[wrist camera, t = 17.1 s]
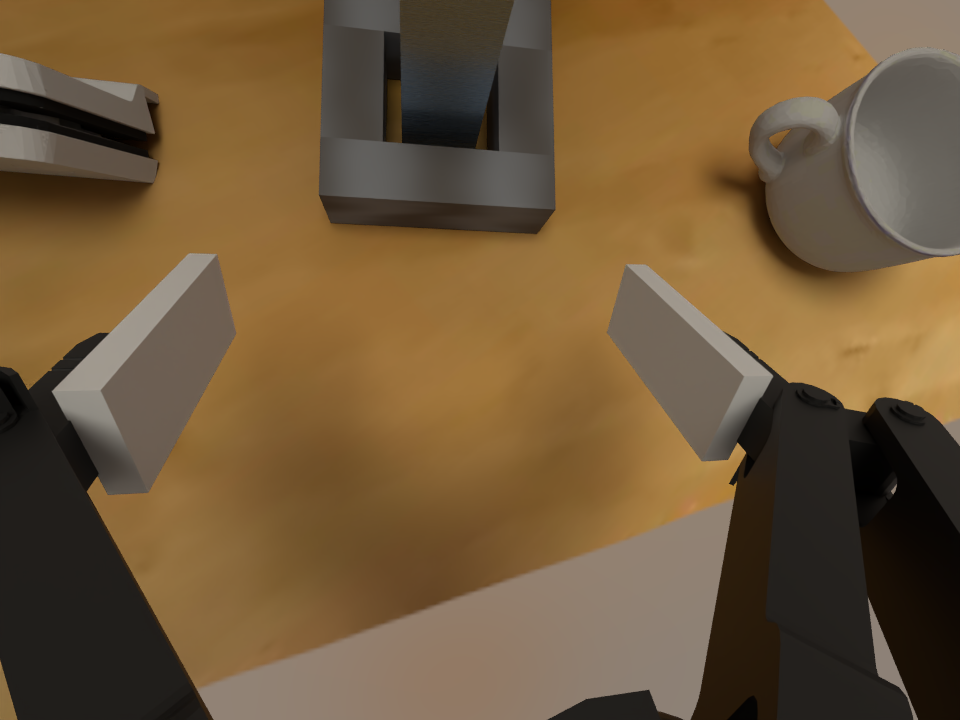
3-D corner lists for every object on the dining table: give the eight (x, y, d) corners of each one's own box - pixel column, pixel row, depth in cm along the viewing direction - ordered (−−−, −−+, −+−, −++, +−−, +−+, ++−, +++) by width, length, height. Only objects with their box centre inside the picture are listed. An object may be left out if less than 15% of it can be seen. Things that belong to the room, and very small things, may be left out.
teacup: (894, 179, 32) (1051, 107, 24) (852, 316, 31) (1005, 287, 23) (726, 85, 31) (836, -23, 23) (673, 225, 29) (771, 159, 21)
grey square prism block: (402, 161, 27) (397, -94, 13) (402, 96, 27) (398, -217, 13) (470, 165, 27) (533, -73, 14) (469, 102, 28) (530, -191, 14)
